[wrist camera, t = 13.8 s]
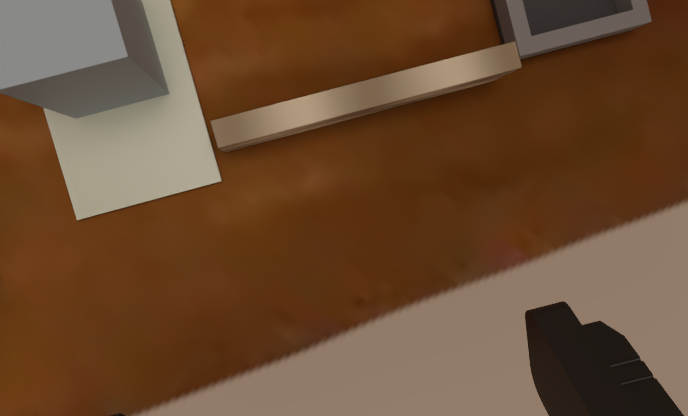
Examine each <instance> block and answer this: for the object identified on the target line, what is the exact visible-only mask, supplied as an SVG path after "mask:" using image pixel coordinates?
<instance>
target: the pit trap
mask: <svg viewBox="0 0 688 416" xmlns="http://www.w3.org/2000/svg"><path fill="white" fill-rule="evenodd" d="M491 3H492V7H493V11H494V15H495V19H496V23H497V27H498V31H499V35H500V38H501V42H502V45H503V44H507V43H511V42H516V46H517V50H518V54H519V58H520V60H521V59H525V58H529V57H533V56H536V55H540V54H544V53H548V52H551V51H555V50H559V49H563V48H567V47H570V46H574V45H578V44H582V43H585V42H589V41H593V40H597V39H601V38H604V37H608V36H612V35H616V34H619V33H623V32H627V31H631V30H633V29H636V28H638V27H640V26H643V25H645V24H647V23H650V22H652V20H651V16H650V12H649V8H648V4H647V0H491Z"/></svg>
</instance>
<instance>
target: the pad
mask: <svg viewBox="0 0 688 416" xmlns="http://www.w3.org/2000/svg"><path fill="white" fill-rule="evenodd" d="M142 3H143V6H144V9H145V13H146V16H147V19H148V23H149V26H150V30H151V33H152V36H153V40H154V43H155V46H156V50H157V53H158V56H159V60H160V63H161V67H162V70H163V73H164V77H165V80H166V83H167V87H168V90H169V93H170V94H167V95H163V96H159V97H156V98H152V99H148V100H144V101H141V102H137V103H133V104H129V105H125V106H122V107H118V108H114V109H110V110H107V111H103V112H99V113H95V114H91V115H88V116H84V117H80V118H76V119H75V118H72V117H69V116H66V115H64V114H61V113H58V112H55V111H52V110H49V109H46V108H43V109H44V112H45V115H46V119H47V122H48V125H49V129H50V132H51V135H52V139H53V142H54V145H55V149H56V152H57V155H58V159H59V162H60V165H61V169H62V172H63V175H64V179H65V182H66V185H67V189H68V192H69V195H70V198H71V202H72V205H73V208H74V212H75V215H76V218H77V220H81V219H84V218H88V217H92V216H95V215H99V214H103V213H106V212H110V211H114V210H117V209H121V208H125V207H128V206H132V205H136V204H140V203H143V202H147V201H151V200H154V199H158V198H162V197H165V196H169V195H173V194H176V193H180V192H184V191H187V190H191V189H195V188H199V187H202V186H206V185H210V184H213V183H217V182H221V181H222V178H221V175H220V171H219V168H218V164H217V161H216V157H215V154H214V150H213V147H212V143H211V140H210V136H209V133H208V129H207V126H206V122H205V119H204V115H203V112H202V108H201V105H200V101H199V98H198V94H197V91H196V87H195V84H194V80H193V77H192V73H191V70H190V66H189V63H188V59H187V56H186V52H185V49H184V45H183V42H182V38H181V35H180V31H179V28H178V24H177V21H176V17H175V14H174V10H173V7H172V3H171V0H142Z"/></svg>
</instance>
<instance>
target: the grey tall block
mask: <svg viewBox="0 0 688 416" xmlns="http://www.w3.org/2000/svg"><path fill="white" fill-rule="evenodd" d="M0 93H2V94H5V95H8V96H11V97H14V98H17V99H19V100H22V101H25V102H28V103H31V104H34V105H37V106H40V107H43V108H46V109H49V110H52V111H55V112H58V113H61V114H64V115H66V116H69V117H72V118H75V119H76V118H80V117H84V116H88V115H91V114H95V113H99V112H103V111H107V110H110V109H114V108H118V107H122V106H125V105H129V104H133V103H137V102H141V101H144V100H148V99H152V98H156V97H159V96H163V95H167V94H170V93H169V90H168V87H167V83H166V80H165V77H164V73H163V70H162V67H161V63H160V60H159V56H158V53H157V50H156V46H155V43H154V40H153V36H152V33H151V30H150V26H149V23H148V19H147V16H146V13H145V9H144V6H143V3H142V0H0Z"/></svg>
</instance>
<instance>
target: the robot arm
mask: <svg viewBox="0 0 688 416" xmlns="http://www.w3.org/2000/svg"><path fill="white" fill-rule="evenodd" d="M525 320H526V330H527V339H528V349H529V358H530V367H531V372H532V376H533V380H534V384H535V387H536V389H537V392H538V394H539V397H540V399H541V401H542V403H543V405H544V407H545V409H546V411H547V413H548V415H549V416H684V415H683V414H682V413H681V411H680V410H679V409H678V407H677V406H676V405H675V403H674V402H673V401H672V399H671V398H670V397H669V395H668V394H667V393H666V391H665V390H664V389H663V387H662V386H661V385H660V384H659V382H658V381H657V379H654V377H653V374H652V373H651V371H650V370H649V369H648V367H647V366H646V365H645V363H644V362H643V361H641V360H640V357H639V355H638V354H637V353H636V351H635V350H634V349H633V347H632V346H631V345H630V343H629V342H628V341H627V339H626V338H625V337H624V336H623V335H622V334H620V333H619V332H617V331H615V330H613V329H612V328H611V327H609V326H607V325H606V324H604V323H603V322H601V321H597V322H593V323H589V324H585V325H581V323H580V322H579V321H578V319H577V317H576V316H575V314H574V313H573V311H572V310H571V308H570V307H569V306H568V304H567V303H566V302H559V303H555V304H551V305H547V306H544V307H540V308H536V309H531V310H528V311H526V313H525ZM111 416H125V415H123V414H121V413H119V414H115V415H111Z"/></svg>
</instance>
